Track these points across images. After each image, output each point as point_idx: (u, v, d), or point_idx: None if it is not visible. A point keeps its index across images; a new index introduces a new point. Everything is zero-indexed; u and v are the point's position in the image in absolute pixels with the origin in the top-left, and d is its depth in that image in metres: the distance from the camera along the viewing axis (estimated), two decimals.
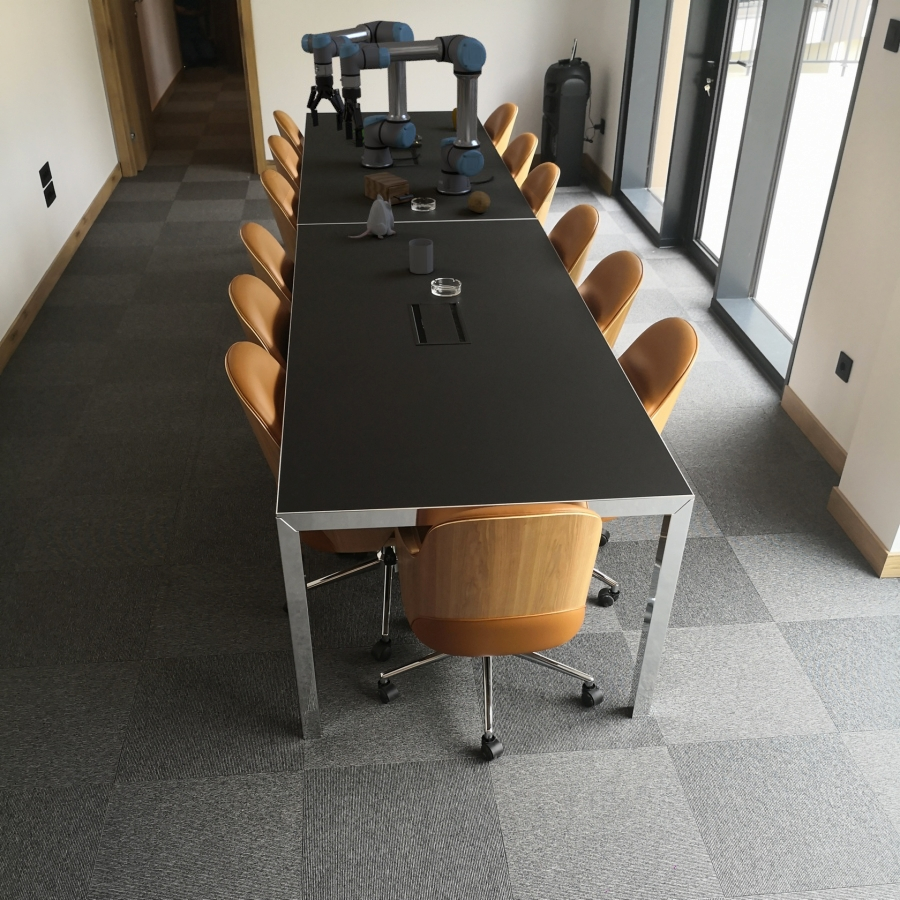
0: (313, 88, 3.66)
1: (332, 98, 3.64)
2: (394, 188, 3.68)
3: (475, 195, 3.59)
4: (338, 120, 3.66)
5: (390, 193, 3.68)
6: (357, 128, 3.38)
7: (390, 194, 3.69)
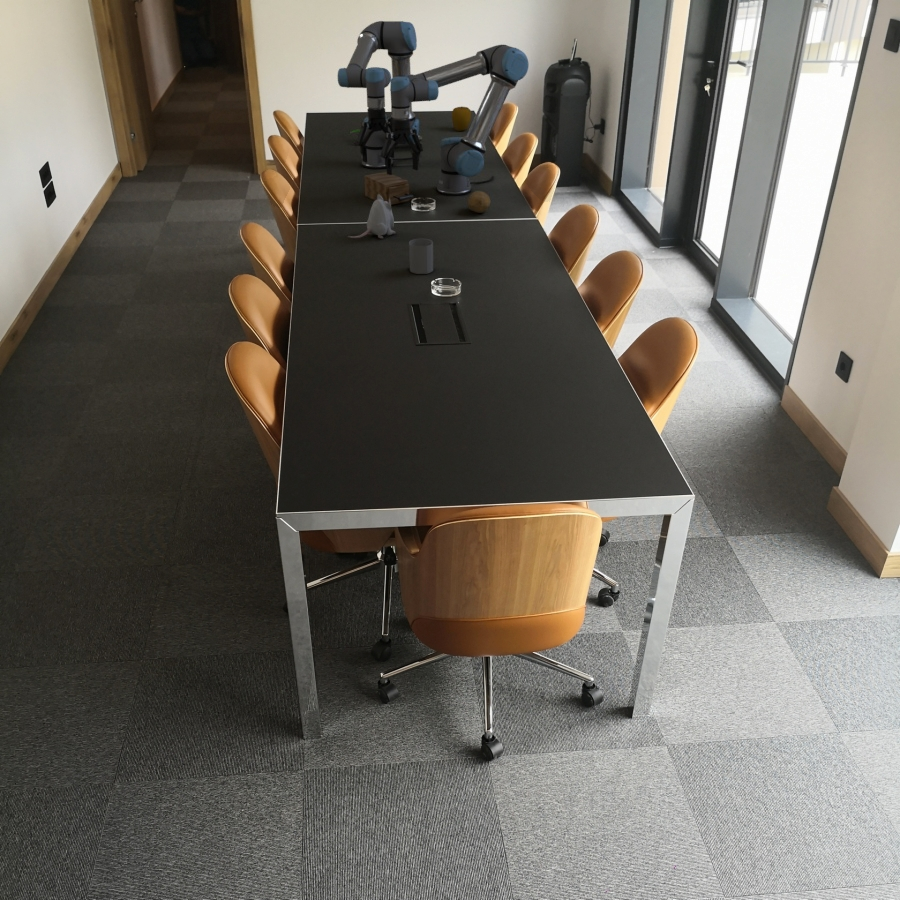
0: None
1: None
2: (394, 188, 3.68)
3: (475, 195, 3.59)
4: None
5: (390, 193, 3.68)
6: (422, 150, 3.63)
7: (390, 194, 3.69)
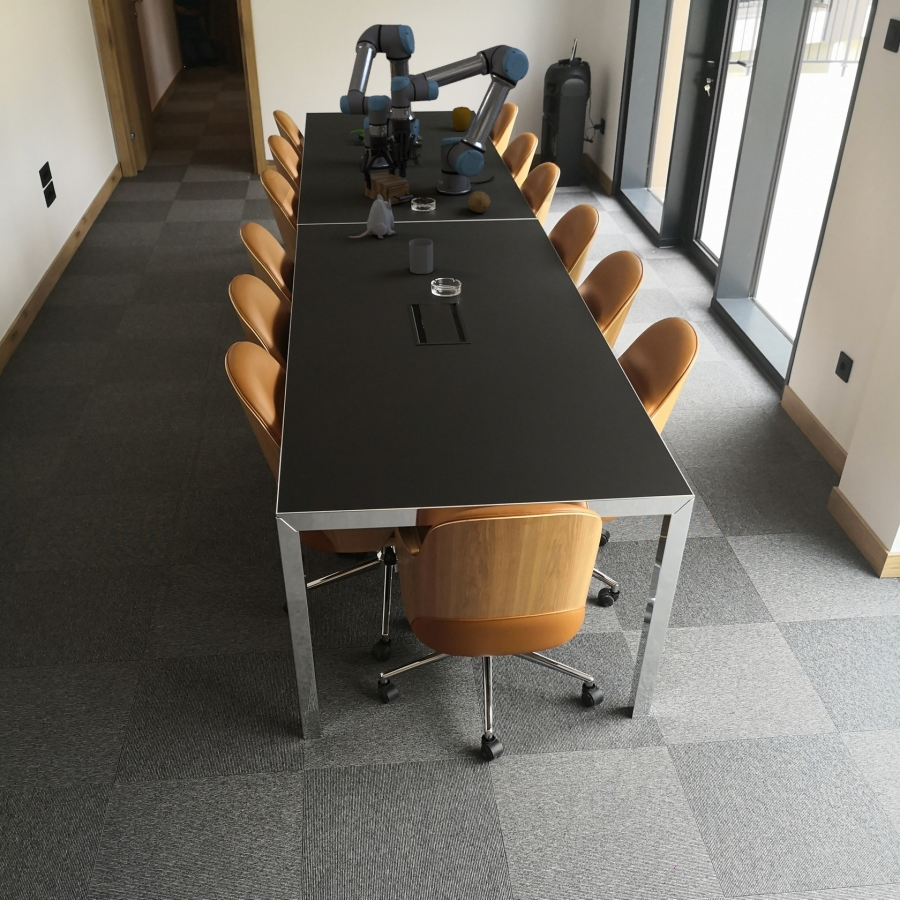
0: (368, 151, 3.70)
1: None
2: (394, 188, 3.68)
3: (475, 195, 3.59)
4: None
5: (390, 193, 3.68)
6: (410, 157, 3.62)
7: (390, 194, 3.69)
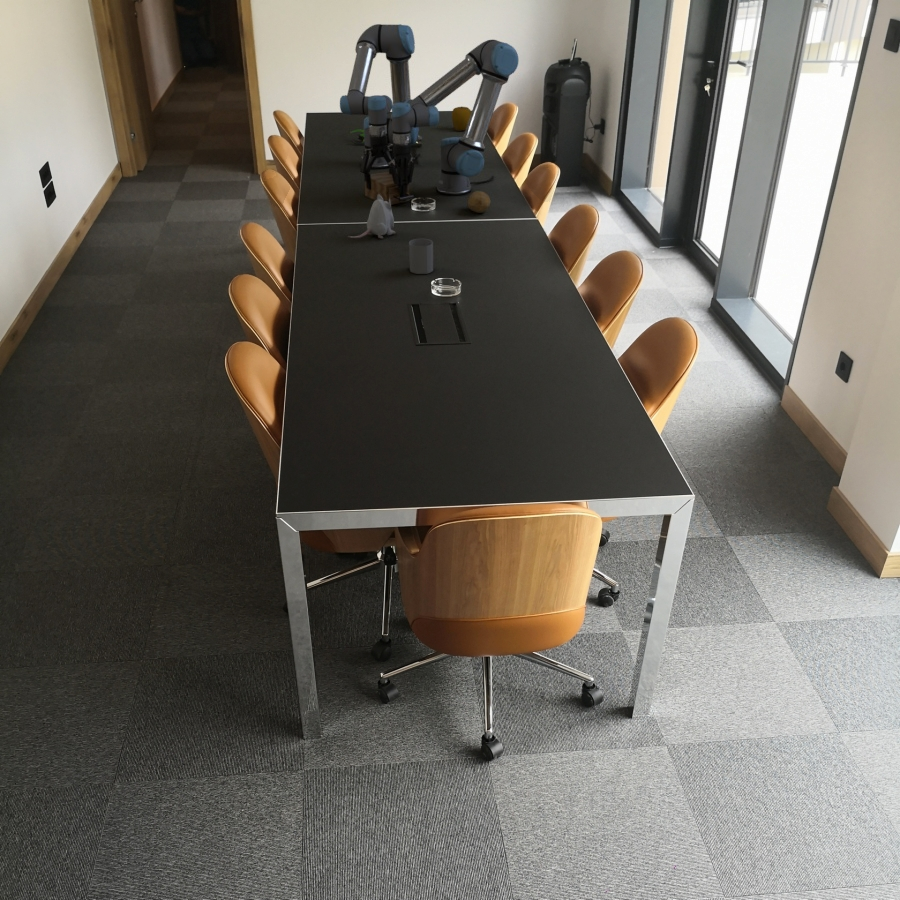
0: (368, 151, 3.70)
1: None
2: (394, 188, 3.68)
3: (475, 195, 3.59)
4: None
5: (390, 193, 3.68)
6: (410, 181, 3.67)
7: (390, 194, 3.68)
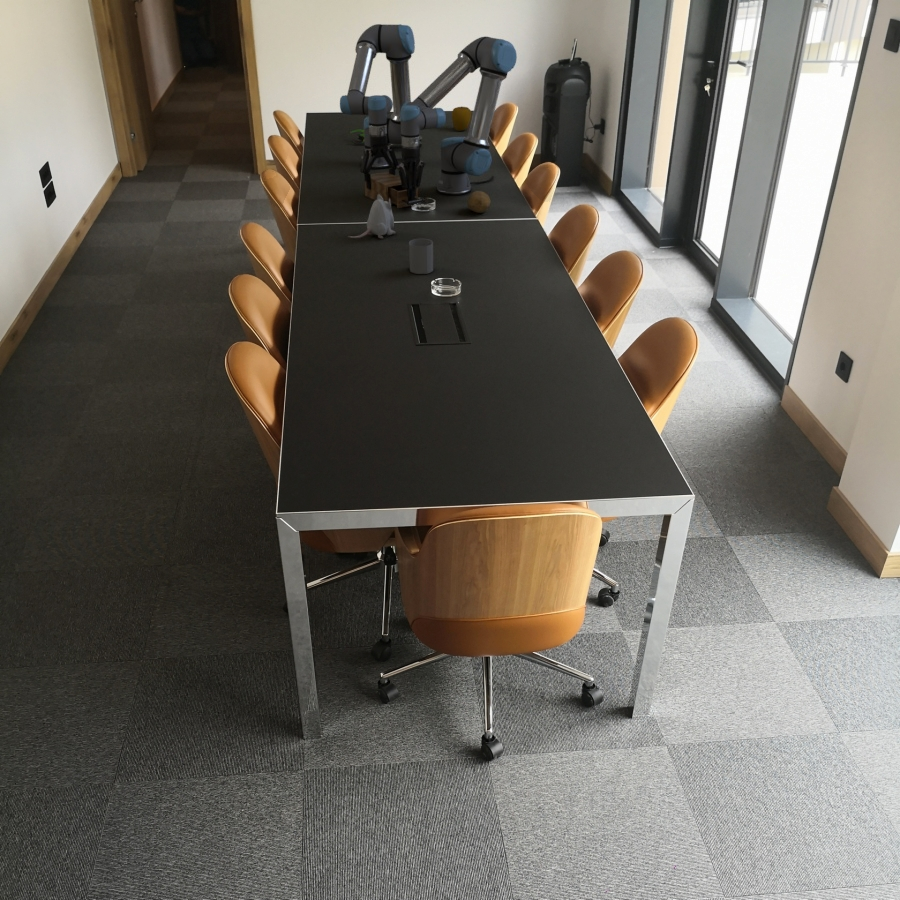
0: (368, 151, 3.70)
1: None
2: (403, 192, 3.64)
3: (475, 195, 3.59)
4: None
5: (399, 197, 3.64)
6: (419, 185, 3.62)
7: (399, 198, 3.64)
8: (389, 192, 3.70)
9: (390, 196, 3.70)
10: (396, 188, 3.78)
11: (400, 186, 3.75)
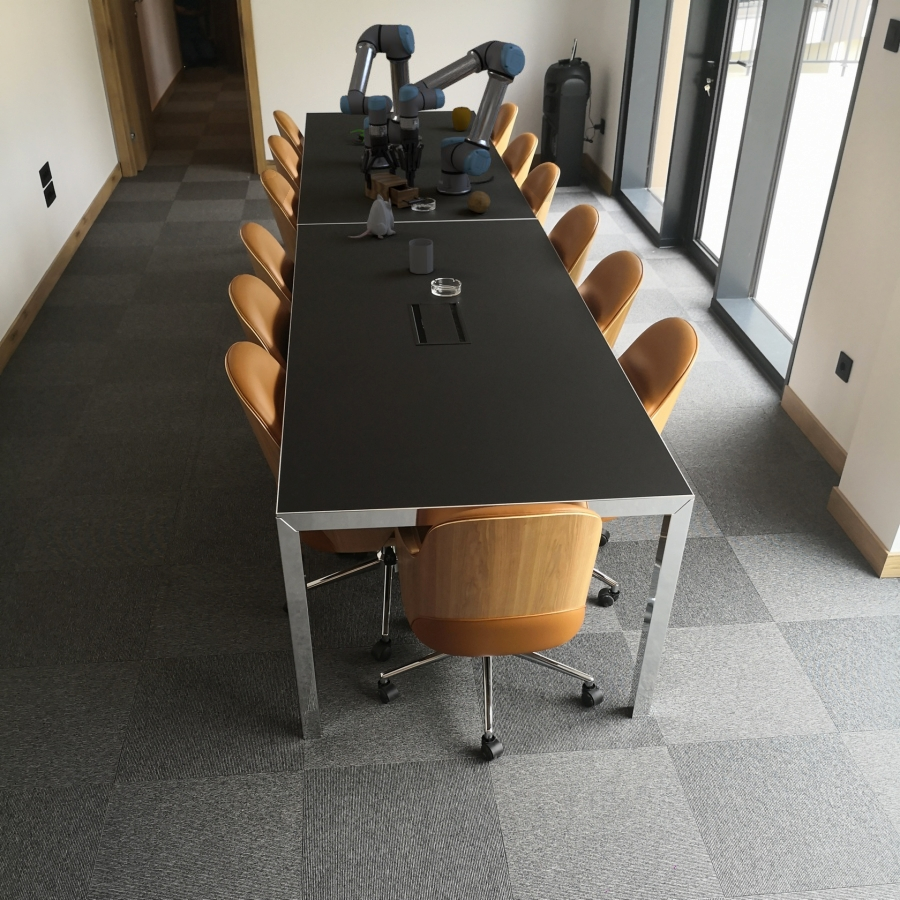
0: (368, 151, 3.70)
1: None
2: (403, 192, 3.64)
3: (475, 195, 3.59)
4: None
5: (399, 197, 3.64)
6: (418, 167, 3.59)
7: (399, 198, 3.64)
8: (390, 192, 3.70)
9: (391, 196, 3.70)
10: (396, 188, 3.78)
11: (400, 186, 3.74)
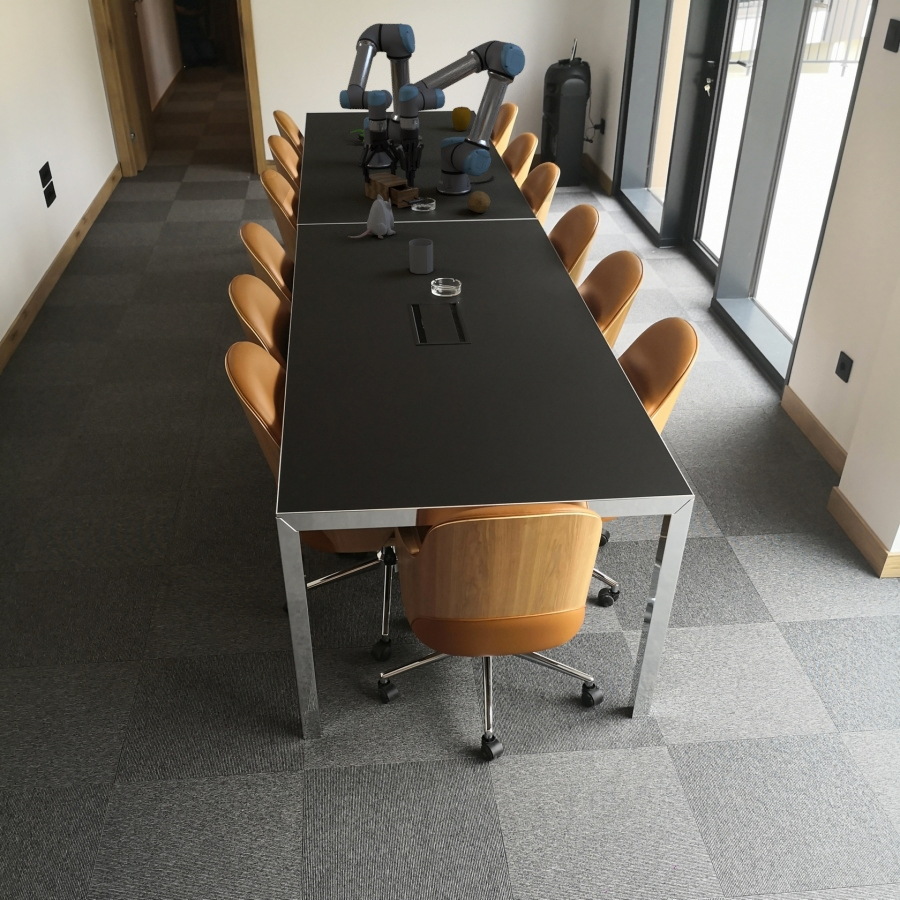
0: None
1: None
2: (403, 192, 3.64)
3: (475, 195, 3.59)
4: (395, 168, 3.81)
5: (399, 197, 3.64)
6: (418, 167, 3.59)
7: (399, 198, 3.64)
8: (390, 192, 3.70)
9: (391, 196, 3.70)
10: (396, 188, 3.78)
11: (400, 186, 3.74)
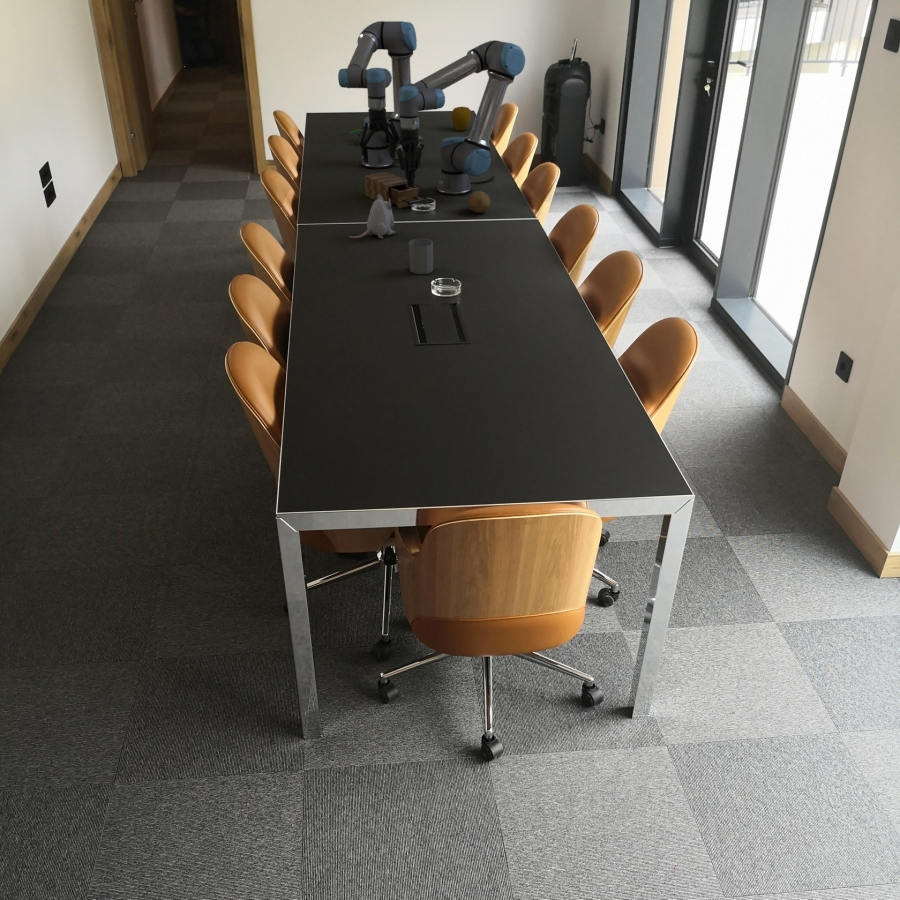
0: None
1: None
2: (403, 192, 3.64)
3: (475, 195, 3.59)
4: None
5: (399, 197, 3.64)
6: (418, 167, 3.59)
7: (399, 198, 3.64)
8: (390, 192, 3.70)
9: (391, 196, 3.70)
10: (396, 188, 3.78)
11: (400, 186, 3.74)
